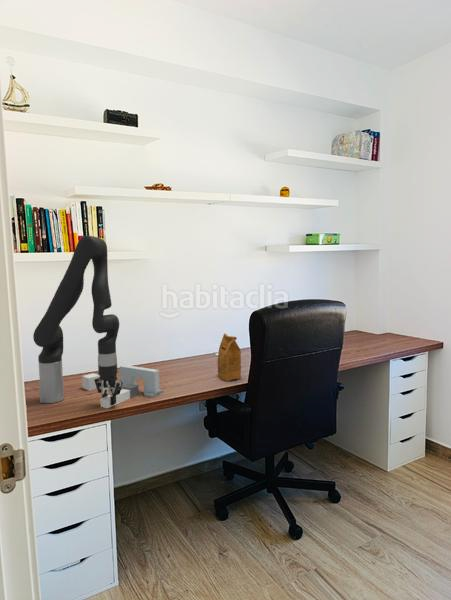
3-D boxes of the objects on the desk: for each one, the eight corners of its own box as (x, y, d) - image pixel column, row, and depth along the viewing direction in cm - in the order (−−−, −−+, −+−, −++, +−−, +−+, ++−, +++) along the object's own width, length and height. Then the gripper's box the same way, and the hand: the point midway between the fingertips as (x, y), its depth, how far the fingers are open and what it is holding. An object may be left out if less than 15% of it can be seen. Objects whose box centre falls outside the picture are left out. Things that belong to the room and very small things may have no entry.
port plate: (151, 397, 183) (151, 373, 181) (117, 391, 192) (116, 367, 191) (162, 392, 190) (162, 368, 188) (128, 386, 199) (128, 363, 198)
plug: (108, 408, 170) (107, 398, 170) (100, 407, 172) (99, 396, 172) (138, 394, 187) (138, 385, 186) (131, 393, 189) (130, 383, 188)
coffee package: (232, 373, 219) (232, 331, 217) (243, 379, 208) (243, 336, 205) (214, 376, 215) (214, 333, 212) (225, 382, 203) (224, 337, 201)
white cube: (82, 388, 197) (82, 375, 196) (94, 385, 201) (93, 373, 201) (89, 391, 193) (88, 378, 192) (100, 388, 197) (100, 375, 197)
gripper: (127, 363, 172) (128, 403, 174) (101, 359, 178) (103, 398, 180) (114, 367, 165) (115, 409, 167) (88, 363, 172) (89, 404, 174)
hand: (109, 403), depth 174 cm, fingers closed on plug, 3 cm apart
